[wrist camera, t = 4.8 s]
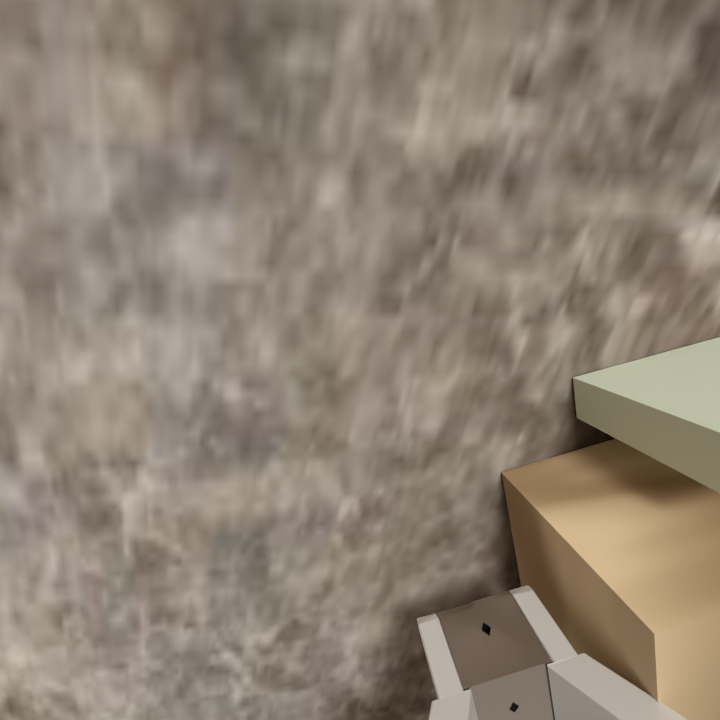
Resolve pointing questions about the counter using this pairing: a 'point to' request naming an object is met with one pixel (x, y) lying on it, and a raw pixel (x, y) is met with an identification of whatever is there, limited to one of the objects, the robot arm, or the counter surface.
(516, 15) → the counter surface
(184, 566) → the counter surface
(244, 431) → the counter surface
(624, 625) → the maple block
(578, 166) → the counter surface
